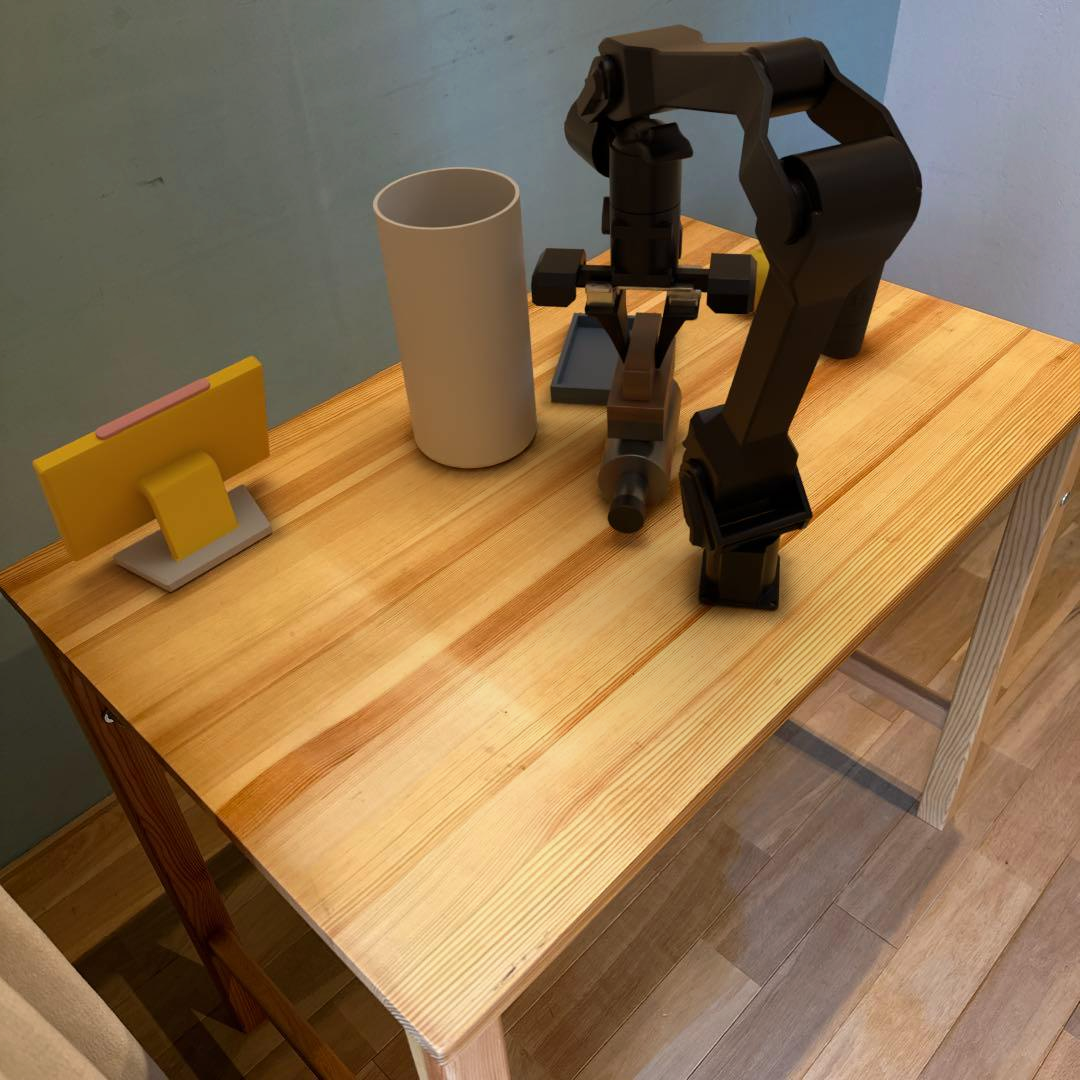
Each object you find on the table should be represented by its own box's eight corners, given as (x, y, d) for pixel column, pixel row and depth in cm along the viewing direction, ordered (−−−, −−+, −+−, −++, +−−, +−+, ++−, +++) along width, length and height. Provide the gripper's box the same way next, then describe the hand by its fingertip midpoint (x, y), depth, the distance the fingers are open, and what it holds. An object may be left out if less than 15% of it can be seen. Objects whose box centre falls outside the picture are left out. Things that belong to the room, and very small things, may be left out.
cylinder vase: (411, 476, 98) (366, 234, 81) (418, 403, 107) (379, 172, 90) (539, 467, 98) (520, 223, 81) (535, 395, 107) (518, 162, 90)
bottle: (680, 423, 101) (682, 369, 97) (661, 550, 88) (663, 494, 84) (617, 419, 103) (617, 366, 98) (589, 544, 89) (587, 488, 85)
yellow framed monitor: (269, 474, 99) (226, 335, 89) (315, 508, 95) (275, 366, 84) (80, 579, 90) (7, 436, 79) (121, 622, 85) (49, 478, 75)
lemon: (728, 321, 116) (733, 257, 110) (736, 298, 119) (741, 234, 114) (777, 326, 114) (784, 261, 109) (783, 302, 118) (790, 238, 113)
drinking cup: (788, 341, 112) (809, 163, 98) (844, 322, 114) (872, 146, 100) (830, 373, 107) (859, 190, 93) (888, 353, 109) (924, 172, 95)
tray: (657, 408, 104) (657, 392, 102) (551, 402, 106) (550, 386, 104) (671, 332, 115) (671, 316, 113) (574, 327, 117) (573, 312, 115)
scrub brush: (663, 441, 89) (665, 379, 84) (607, 438, 90) (606, 376, 85) (674, 367, 98) (676, 308, 93) (623, 365, 98) (623, 305, 94)
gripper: (765, 161, 85) (750, 324, 95) (548, 158, 88) (557, 316, 99) (762, 219, 77) (746, 390, 87) (524, 213, 80) (536, 378, 91)
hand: (643, 365), depth 91 cm, fingers closed on scrub brush, 2 cm apart
